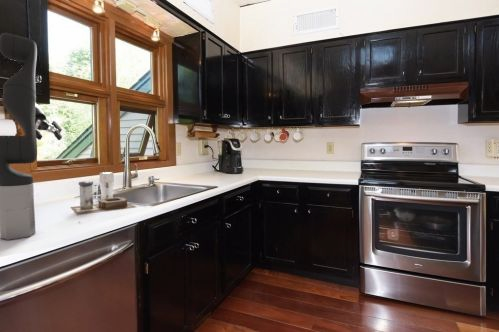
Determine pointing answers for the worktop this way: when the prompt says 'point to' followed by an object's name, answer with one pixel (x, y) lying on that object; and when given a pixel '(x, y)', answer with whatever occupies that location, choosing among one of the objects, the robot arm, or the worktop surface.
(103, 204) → the bore block
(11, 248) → the worktop surface
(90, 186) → the grey mottled cylinder
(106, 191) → the beer glass
